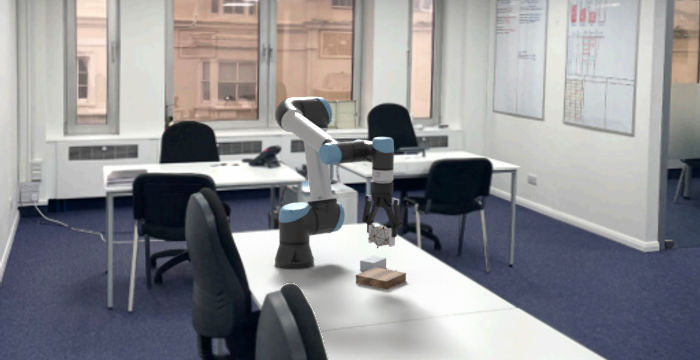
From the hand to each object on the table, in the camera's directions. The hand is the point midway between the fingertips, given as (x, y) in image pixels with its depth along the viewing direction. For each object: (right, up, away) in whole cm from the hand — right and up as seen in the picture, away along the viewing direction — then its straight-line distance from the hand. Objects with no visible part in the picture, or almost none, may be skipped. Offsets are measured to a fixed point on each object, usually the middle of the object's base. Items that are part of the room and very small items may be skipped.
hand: (381, 244), depth 290 cm
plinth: (0, -14, +2) cm, 14 cm away
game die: (0, -1, 0) cm, 1 cm away
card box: (-2, -11, +20) cm, 23 cm away
